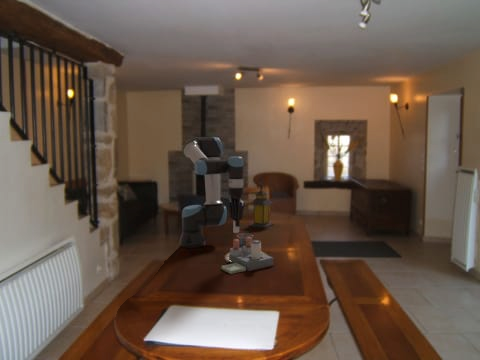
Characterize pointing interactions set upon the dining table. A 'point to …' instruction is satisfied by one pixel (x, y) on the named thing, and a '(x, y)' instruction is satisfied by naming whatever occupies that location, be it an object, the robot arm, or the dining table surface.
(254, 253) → the cylinder
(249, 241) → the plunger
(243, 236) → the mug
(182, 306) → the dining table surface
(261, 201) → the lantern
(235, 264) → the tray
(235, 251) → the housing
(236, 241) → the plunger
